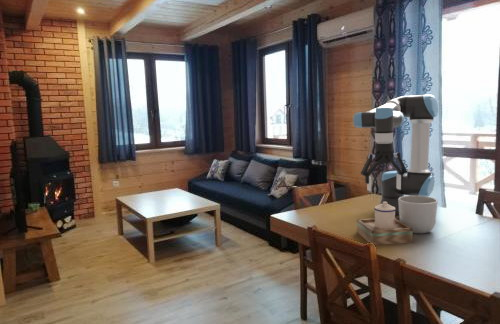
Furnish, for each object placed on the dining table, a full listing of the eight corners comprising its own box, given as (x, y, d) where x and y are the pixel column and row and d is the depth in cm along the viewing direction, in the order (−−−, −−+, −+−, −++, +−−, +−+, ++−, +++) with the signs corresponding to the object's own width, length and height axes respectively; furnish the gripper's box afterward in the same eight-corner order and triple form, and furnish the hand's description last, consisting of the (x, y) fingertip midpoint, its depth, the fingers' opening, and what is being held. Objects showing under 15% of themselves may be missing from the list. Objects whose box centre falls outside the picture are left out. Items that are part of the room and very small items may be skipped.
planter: (442, 229, 179) (443, 198, 177) (429, 238, 167) (429, 205, 165) (406, 223, 190) (406, 194, 189) (391, 231, 179) (392, 200, 177)
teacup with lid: (399, 229, 165) (399, 203, 164) (378, 230, 165) (378, 204, 163) (387, 222, 177) (388, 197, 176) (368, 223, 177) (368, 198, 175)
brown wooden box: (393, 229, 181) (393, 217, 180) (412, 242, 163) (412, 228, 162) (356, 232, 180) (356, 219, 179) (371, 244, 162) (371, 230, 161)
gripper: (407, 140, 171) (406, 186, 173) (353, 143, 169) (353, 189, 172) (415, 141, 163) (415, 189, 166) (359, 144, 162) (359, 193, 164)
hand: (383, 189), depth 169 cm, fingers open, 13 cm apart
